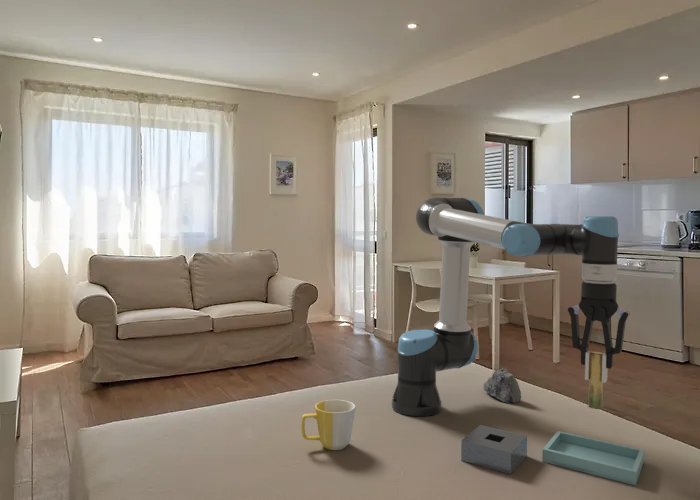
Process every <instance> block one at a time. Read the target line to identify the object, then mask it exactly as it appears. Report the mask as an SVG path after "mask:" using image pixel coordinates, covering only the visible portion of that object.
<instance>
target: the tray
mask: <svg viewBox="0 0 700 500" xmlns="http://www.w3.org/2000/svg"><path fill="white" fill-rule="evenodd" d="M645 452H646V451H645V449H641V448H637V447H634V446H629V445H624V444H620V443H614V442H611V441H605V440H600V439H596V438H592V437H587V436H583V435H580V434H579V435H578V434H574V433H570V432H565V431H559V430H557V431H556V432H555V434H553V436H552V437H551V438H550V440H549V441H548V442H547V443H546V445H545V446H544V447H543V448H542V457H541V459H542V462H543V463H547V464H549V465H554V466H558V467H562V468H566V469H568V470H569V469H570V470H573V471H574V470H575V471H578V472H583V473H585V474H589V475H593V476H597V477H601V478H605V479H609V480H612V481H617V482H620V483H625V484H628V485H632V486H637V484H638V482H639V478H640V476H641V473H642V470H643V467H644V465H643V464H644V463H645V457H646V455H645Z"/></svg>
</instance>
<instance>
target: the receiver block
mask: <svg viewBox="0 0 700 500" xmlns="http://www.w3.org/2000/svg"><path fill="white" fill-rule="evenodd" d="M460 451H461V452H460V453H461V455H460V460H461V461H462V462H465V463H469V464H471V465H476V466H479V467H483V468H486V469H490V470H494V471H497V472H500V473H504V474H508V475H512V474H513V473H514V471H515V470H516V469H517V468H518V466H520V465H521V463H522V462H523V461H524V460H525V458H527V456H528V435H525V434H521V433H516V432H513V431H510V430H509V431H508V430H504V429H500V428H495V427H490V426H487V425H483V424H480V425H478V426H477V427H476V428H475V429H474V430H472V431H470V433H468V434H467V435H466V436H465V437H464V438H462V439H461V450H460Z"/></svg>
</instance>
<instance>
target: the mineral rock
mask: <svg viewBox="0 0 700 500" xmlns="http://www.w3.org/2000/svg"><path fill="white" fill-rule="evenodd" d="M483 390H484V391H485V392H486V393H487V394H489V395H490V396H492V397H494V398H495V399H498V400H500V401H502V403H507V404H510V403H515V404H516V403H518V402H520V401H522V400H521V399H522V391H521V388H520V386H519V383H518V381H517V378H516V377H515V376H514V375H513V374H512V373H511V372H509V370H508V369H507V368H503V367H502V368H500V369H497V370H494V372H493V373H492V375H491V376H490V377H488V378H487V380H486V381H485V382H484V383H483Z"/></svg>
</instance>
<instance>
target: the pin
mask: <svg viewBox="0 0 700 500" xmlns="http://www.w3.org/2000/svg"><path fill="white" fill-rule="evenodd" d="M604 353H605V352H601V351H591V352H590V369H589V380H588V405H587V407H588V408H589V409H594V410H602V409H603V400H604V399H603V393H604V392H603V391H604V383H602V355H603V354H604Z"/></svg>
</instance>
